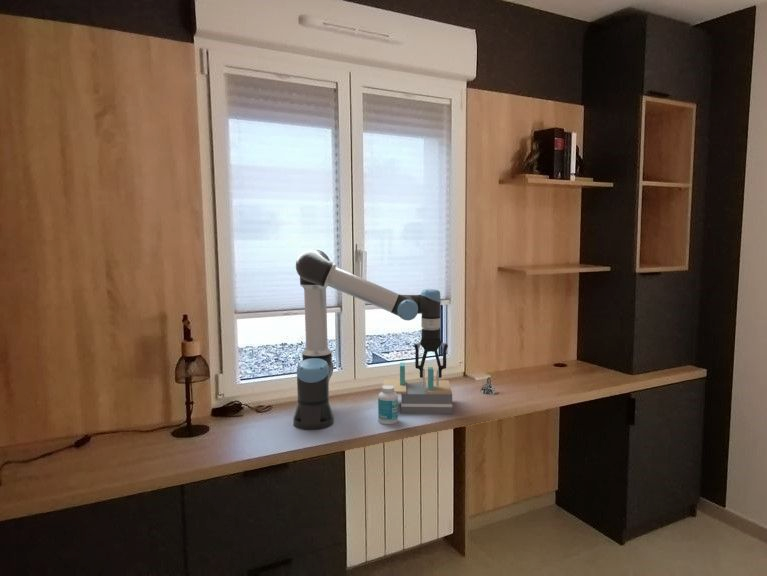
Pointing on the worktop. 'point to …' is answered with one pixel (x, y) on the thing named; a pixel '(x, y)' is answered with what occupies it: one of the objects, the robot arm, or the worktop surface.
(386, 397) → the pill bottle
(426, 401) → the carton
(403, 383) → the flap
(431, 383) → the flap
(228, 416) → the worktop surface
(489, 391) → the grey irregular piece
